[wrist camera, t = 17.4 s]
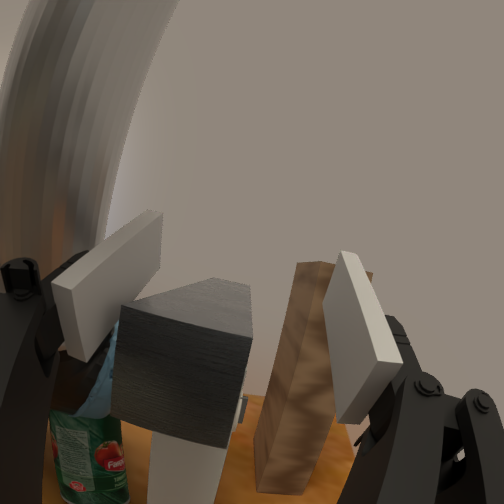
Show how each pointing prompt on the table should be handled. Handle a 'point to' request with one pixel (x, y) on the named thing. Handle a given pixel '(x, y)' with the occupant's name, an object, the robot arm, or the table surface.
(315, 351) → the tall cabinet
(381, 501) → the robot arm
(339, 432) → the table surface
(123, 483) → the canned tomato
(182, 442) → the cream rectangular box
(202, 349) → the grey square bar
